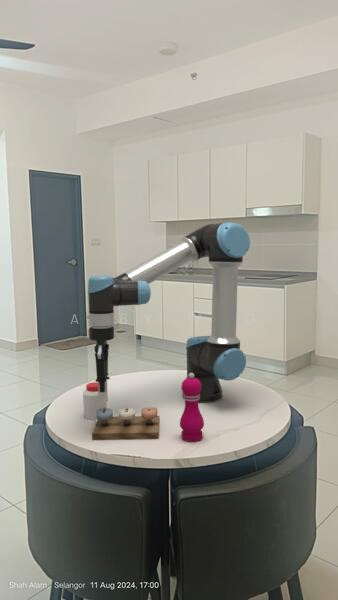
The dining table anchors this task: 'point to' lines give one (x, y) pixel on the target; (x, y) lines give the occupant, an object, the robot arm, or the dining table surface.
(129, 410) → the button
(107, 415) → the button
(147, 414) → the button
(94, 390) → the pill bottle
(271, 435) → the dining table surface
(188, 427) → the pepper mill
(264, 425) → the dining table surface
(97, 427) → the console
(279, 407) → the dining table surface
